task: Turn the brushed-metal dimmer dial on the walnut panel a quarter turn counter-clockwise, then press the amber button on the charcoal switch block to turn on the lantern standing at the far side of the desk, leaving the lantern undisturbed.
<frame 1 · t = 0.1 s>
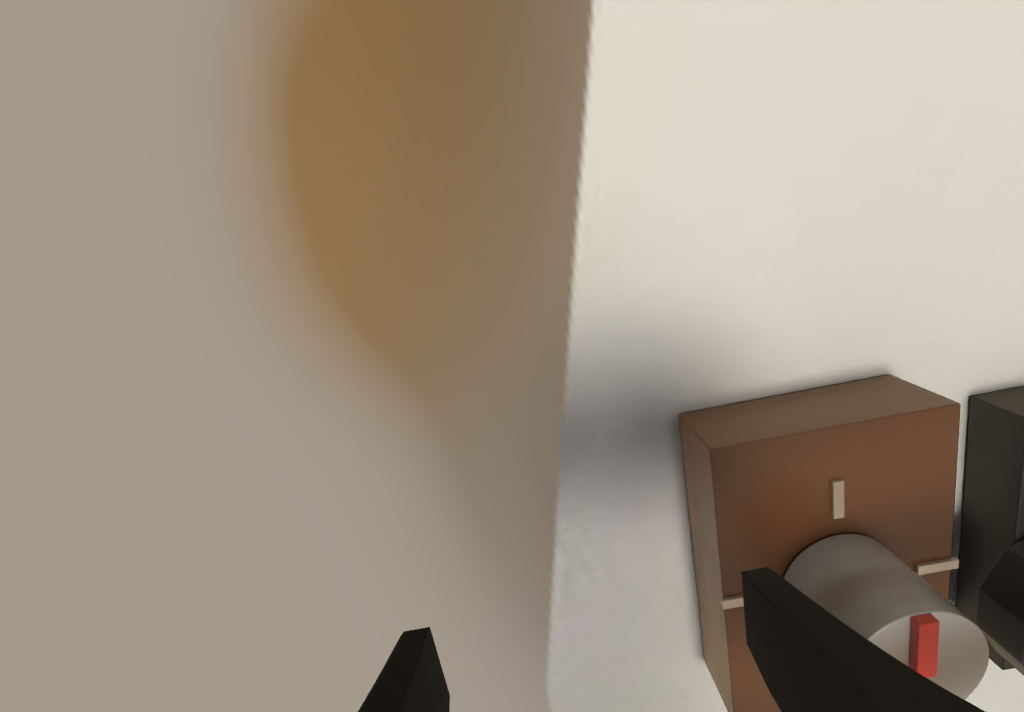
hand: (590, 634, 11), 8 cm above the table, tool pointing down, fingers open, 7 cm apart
dimmer panel: (789, 529, 21), on the table
dial: (877, 625, 16), point 5 cm above the table, hinge at 0.0°
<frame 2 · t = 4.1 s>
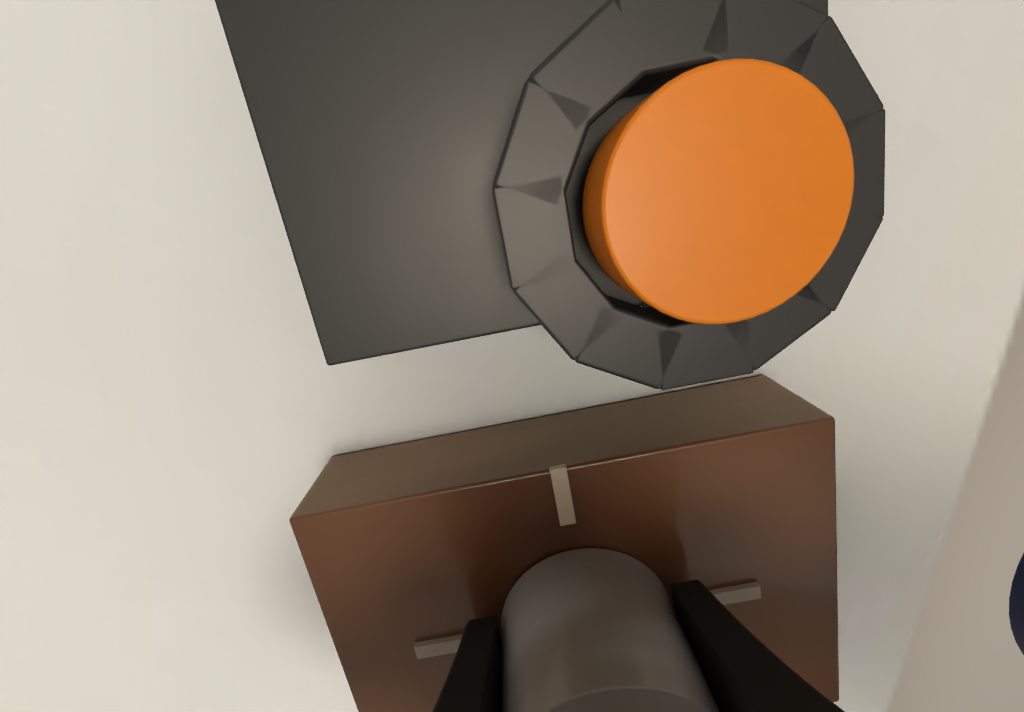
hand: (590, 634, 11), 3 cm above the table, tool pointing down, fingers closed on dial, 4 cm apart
switch button: (704, 201, 8), point 5 cm above the table, slide at 0.2 cm
dimmer panel: (568, 539, 15), on the table
switch block: (536, 134, 12), on the table
dial: (601, 693, 10), point 5 cm above the table, hinge at -0.1°, touching gripper
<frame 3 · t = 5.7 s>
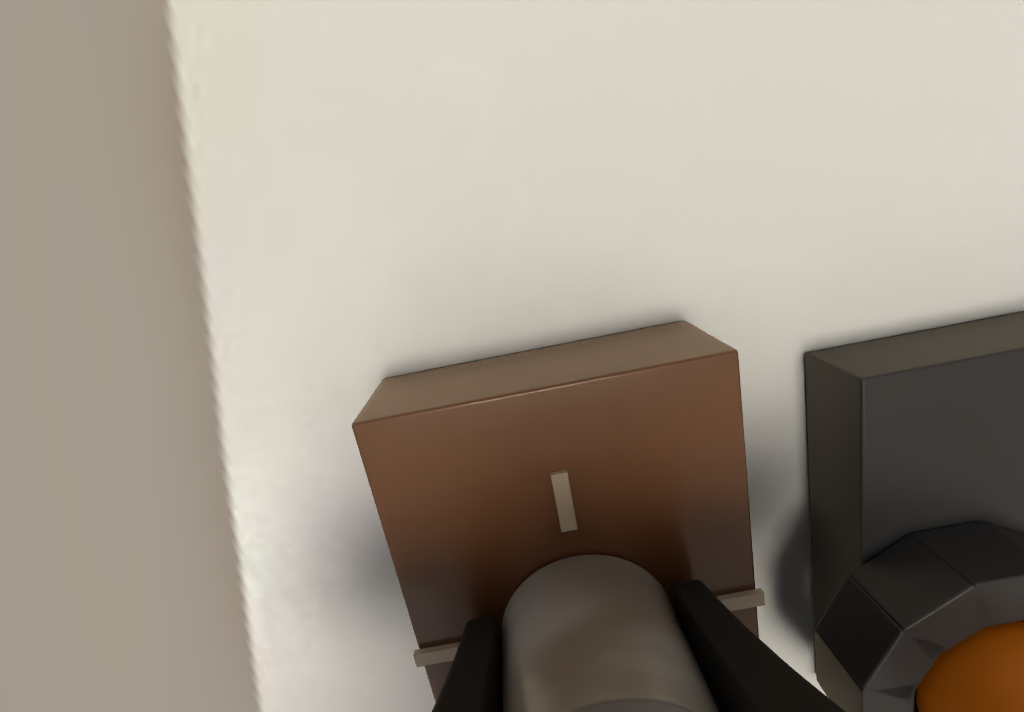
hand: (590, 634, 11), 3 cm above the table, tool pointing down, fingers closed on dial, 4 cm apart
dimmer panel: (569, 544, 15), on the table
switch block: (946, 505, 15), on the table
dial: (603, 702, 10), point 5 cm above the table, hinge at 90.1°, touching gripper
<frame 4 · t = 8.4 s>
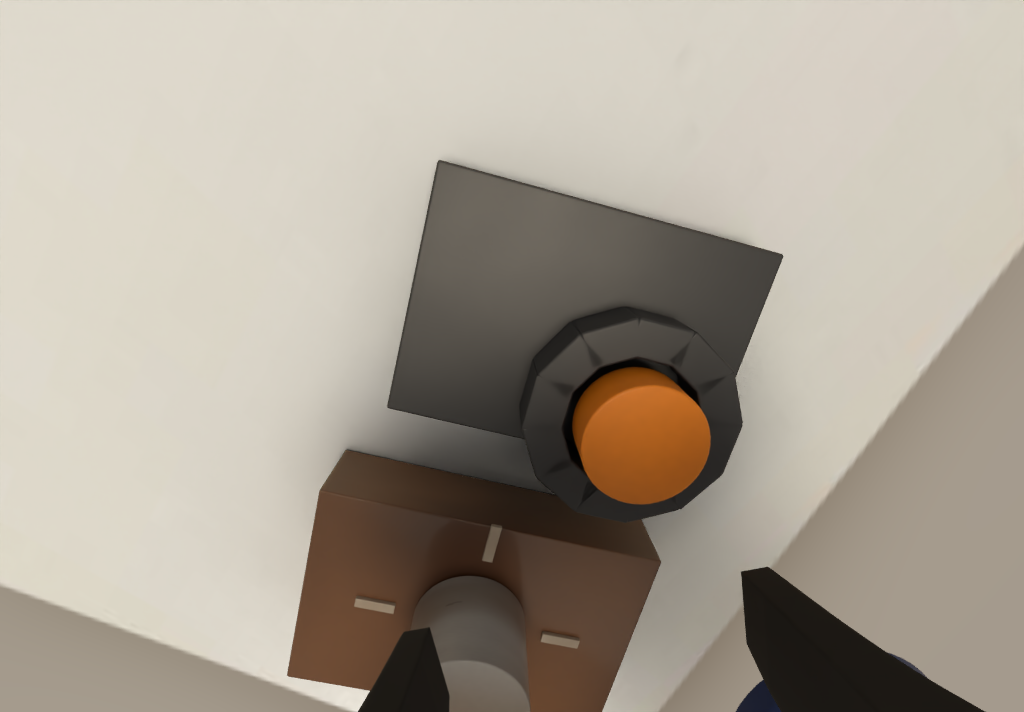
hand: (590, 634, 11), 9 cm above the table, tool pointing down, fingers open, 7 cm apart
switch button: (637, 434, 15), point 5 cm above the table, slide at 0.2 cm
dimmer panel: (473, 564, 21), on the table
switch block: (569, 320, 18), on the table
dial: (465, 667, 16), point 5 cm above the table, hinge at 90.4°
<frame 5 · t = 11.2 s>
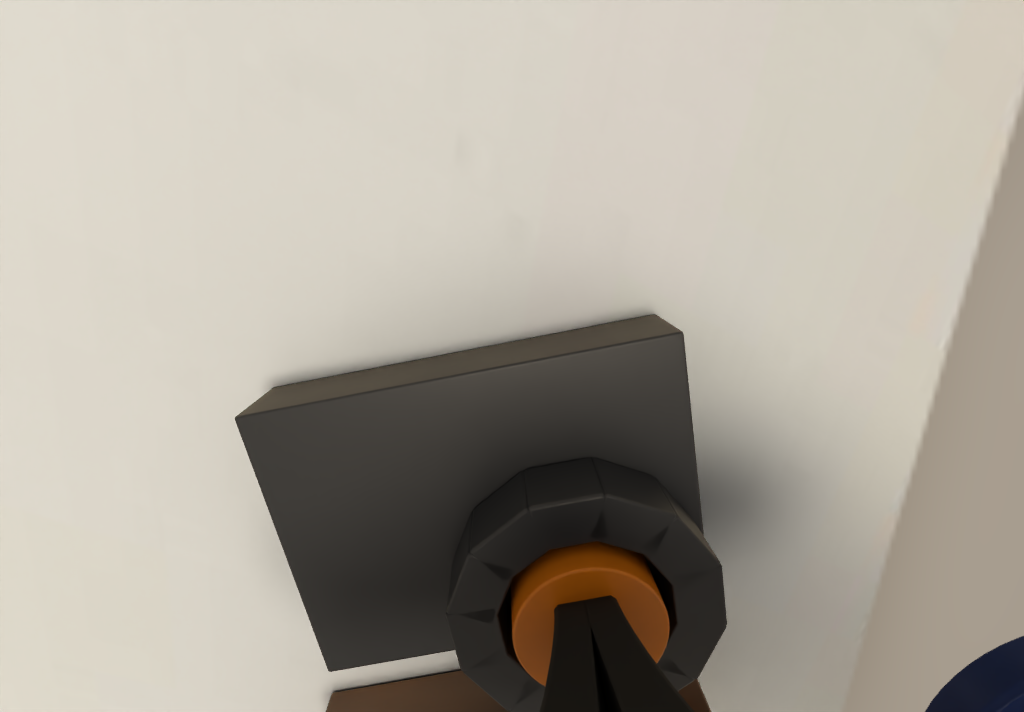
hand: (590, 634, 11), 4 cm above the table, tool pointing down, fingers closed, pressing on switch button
switch button: (585, 607, 12), point 4 cm above the table, slide at -0.8 cm, touching gripper
switch block: (490, 476, 15), on the table
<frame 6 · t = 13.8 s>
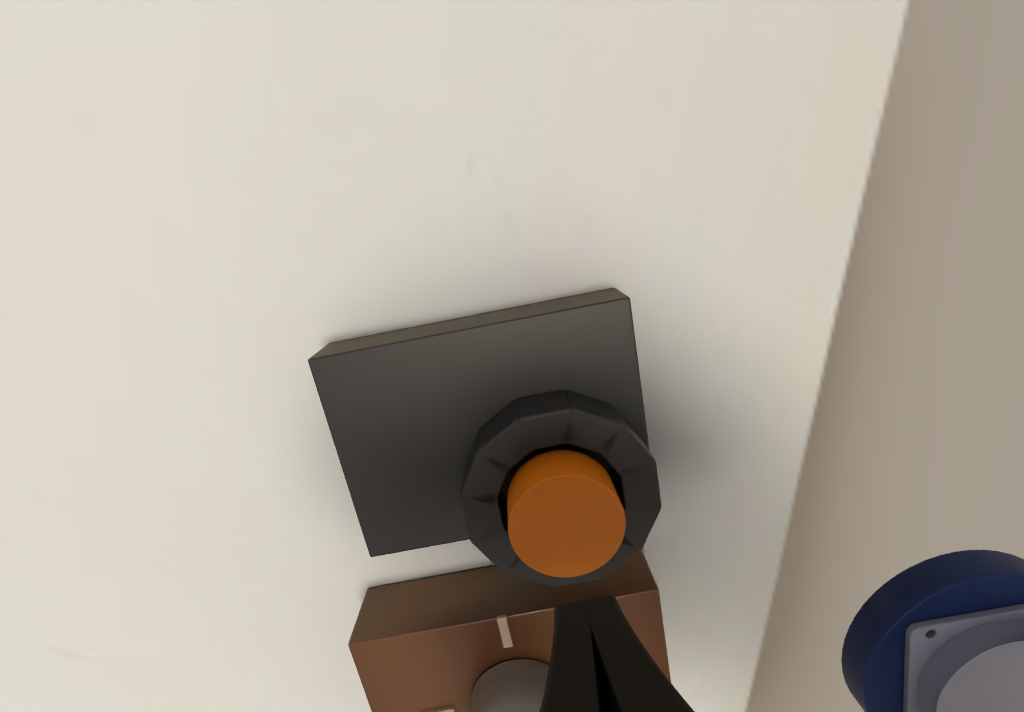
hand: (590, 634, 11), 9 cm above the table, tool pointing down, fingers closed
switch button: (563, 512, 16), point 5 cm above the table, slide at 0.1 cm
dimmer panel: (518, 636, 23), on the table
switch block: (491, 412, 20), on the table
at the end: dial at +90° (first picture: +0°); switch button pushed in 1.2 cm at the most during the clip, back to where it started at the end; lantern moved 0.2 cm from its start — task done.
